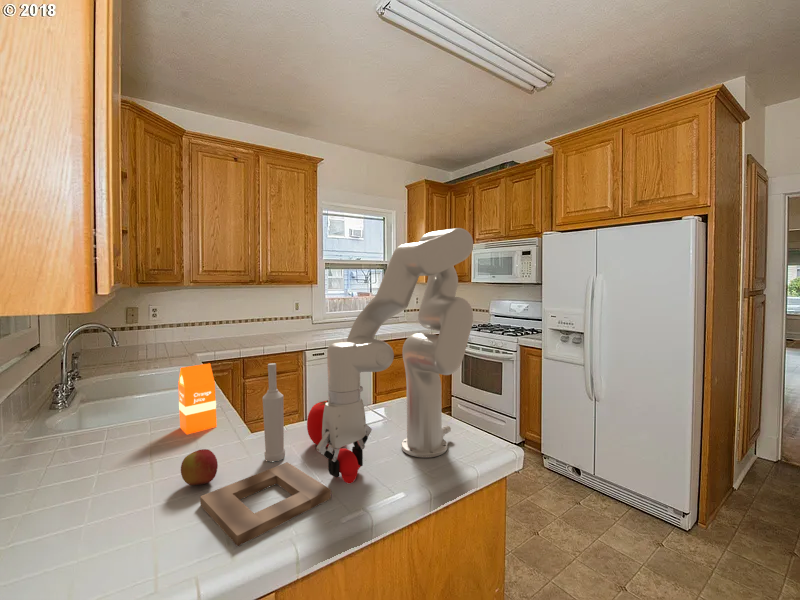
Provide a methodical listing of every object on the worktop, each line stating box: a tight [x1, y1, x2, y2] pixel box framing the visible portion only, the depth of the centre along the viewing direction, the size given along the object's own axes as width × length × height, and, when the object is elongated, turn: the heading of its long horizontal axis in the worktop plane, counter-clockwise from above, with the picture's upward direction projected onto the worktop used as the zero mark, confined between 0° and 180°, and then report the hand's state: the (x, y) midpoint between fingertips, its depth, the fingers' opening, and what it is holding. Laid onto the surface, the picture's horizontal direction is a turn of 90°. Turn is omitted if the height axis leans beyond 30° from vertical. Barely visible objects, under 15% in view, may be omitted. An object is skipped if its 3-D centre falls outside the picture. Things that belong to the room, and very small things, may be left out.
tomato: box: [306, 399, 329, 448], centre depth 109 cm, size 12×12×13 cm
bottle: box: [262, 362, 286, 462], centre depth 100 cm, size 5×5×25 cm
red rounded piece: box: [337, 447, 361, 484], centre depth 91 cm, size 8×6×6 cm
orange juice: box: [177, 363, 218, 435], centre depth 122 cm, size 8×9×20 cm
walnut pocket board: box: [199, 461, 332, 547], centre depth 81 cm, size 20×18×2 cm
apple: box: [180, 448, 218, 486], centre depth 88 cm, size 8×8×8 cm
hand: (346, 469), depth 91 cm, fingers closed on red rounded piece, 6 cm apart
